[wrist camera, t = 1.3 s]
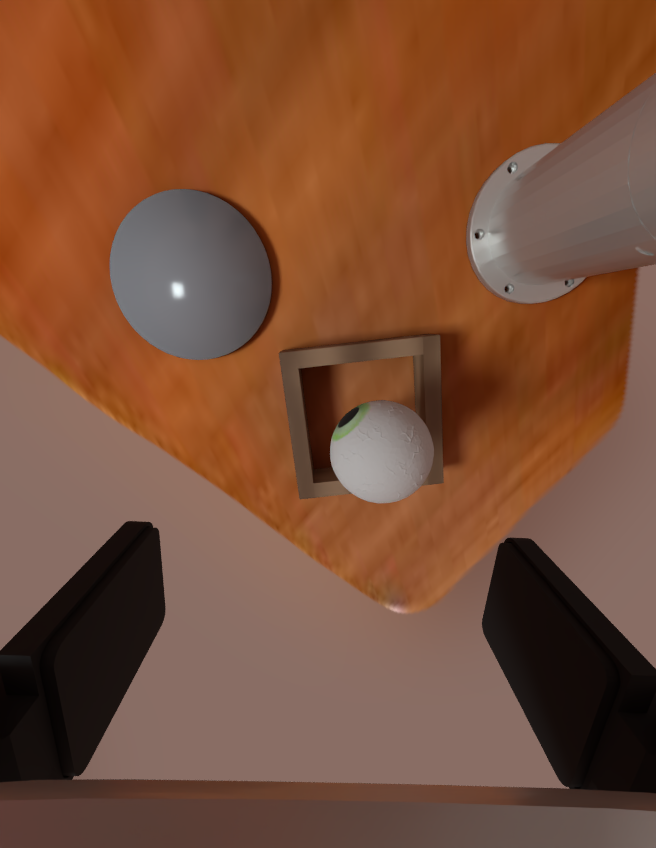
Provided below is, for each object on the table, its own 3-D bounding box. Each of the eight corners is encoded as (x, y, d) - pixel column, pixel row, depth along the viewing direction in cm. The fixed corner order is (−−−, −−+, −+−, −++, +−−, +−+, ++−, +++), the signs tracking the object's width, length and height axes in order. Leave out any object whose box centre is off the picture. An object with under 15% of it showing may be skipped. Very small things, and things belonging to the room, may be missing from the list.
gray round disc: (259, 183, 30) (257, 180, 30) (282, 350, 34) (281, 350, 33) (95, 202, 30) (89, 198, 30) (136, 366, 34) (132, 367, 33)
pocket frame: (427, 334, 34) (440, 334, 31) (432, 469, 38) (443, 483, 35) (282, 350, 34) (278, 353, 31) (301, 483, 38) (299, 499, 34)
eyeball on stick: (362, 362, 35) (396, 388, 20) (410, 412, 36) (473, 470, 22) (311, 412, 36) (307, 471, 21) (359, 459, 37) (387, 544, 23)
